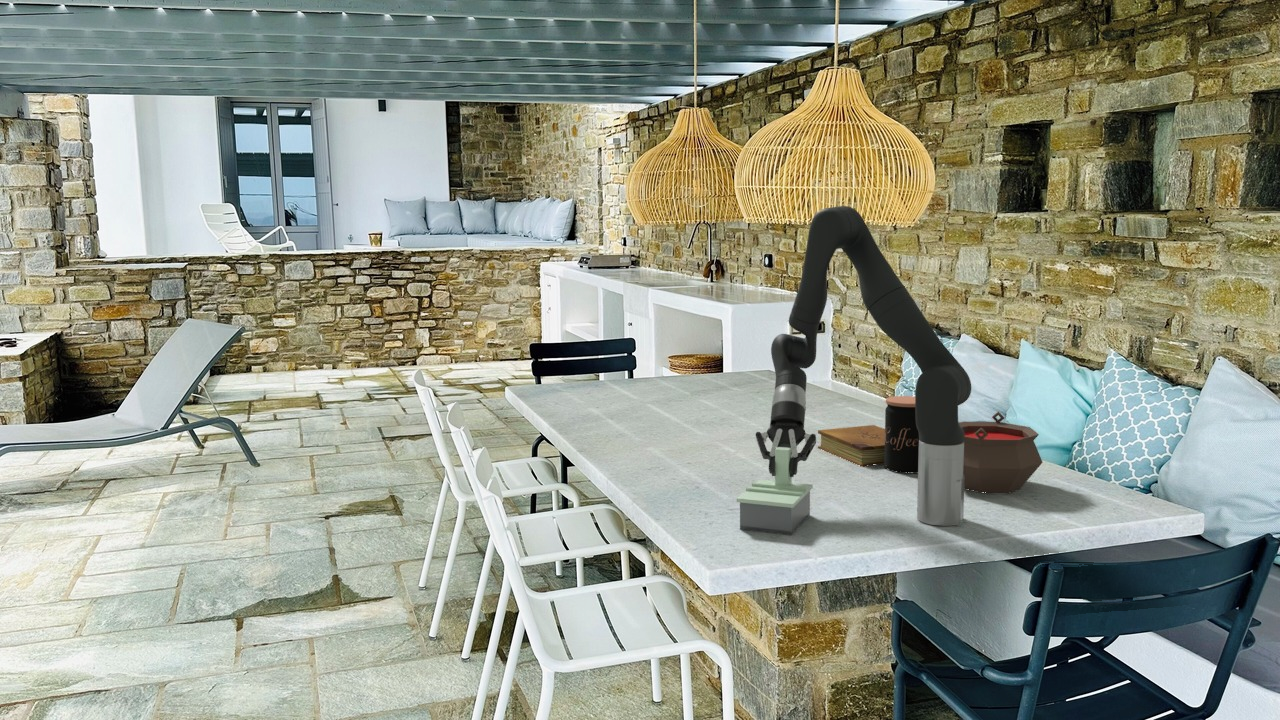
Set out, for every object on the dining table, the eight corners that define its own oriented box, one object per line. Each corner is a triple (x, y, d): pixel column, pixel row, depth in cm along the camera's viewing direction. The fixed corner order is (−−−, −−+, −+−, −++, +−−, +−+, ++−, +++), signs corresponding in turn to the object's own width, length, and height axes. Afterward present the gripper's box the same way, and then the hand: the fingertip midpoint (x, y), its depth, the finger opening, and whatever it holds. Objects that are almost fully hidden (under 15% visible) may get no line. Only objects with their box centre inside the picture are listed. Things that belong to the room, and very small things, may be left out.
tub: (809, 515, 220) (810, 488, 220) (791, 535, 207) (791, 506, 206) (761, 510, 225) (761, 483, 224) (740, 529, 211) (739, 501, 210)
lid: (812, 488, 220) (812, 448, 219) (793, 507, 205) (793, 465, 204) (759, 483, 225) (759, 444, 223) (736, 502, 210) (736, 460, 209)
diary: (922, 462, 268) (923, 441, 267) (861, 469, 262) (861, 447, 261) (875, 443, 290) (876, 424, 289) (817, 449, 284) (818, 429, 283)
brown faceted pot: (1033, 505, 225) (1036, 433, 223) (925, 492, 237) (926, 424, 235) (1048, 480, 246) (1051, 414, 244) (948, 469, 258) (949, 406, 256)
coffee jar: (876, 469, 259) (877, 400, 257) (898, 461, 267) (899, 394, 264) (913, 476, 252) (914, 405, 249) (935, 468, 259) (936, 399, 257)
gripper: (755, 398, 227) (748, 464, 217) (819, 400, 223) (814, 467, 213) (758, 417, 233) (751, 482, 223) (820, 419, 229) (816, 485, 219)
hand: (782, 474), depth 218 cm, fingers closed on lid, 3 cm apart
